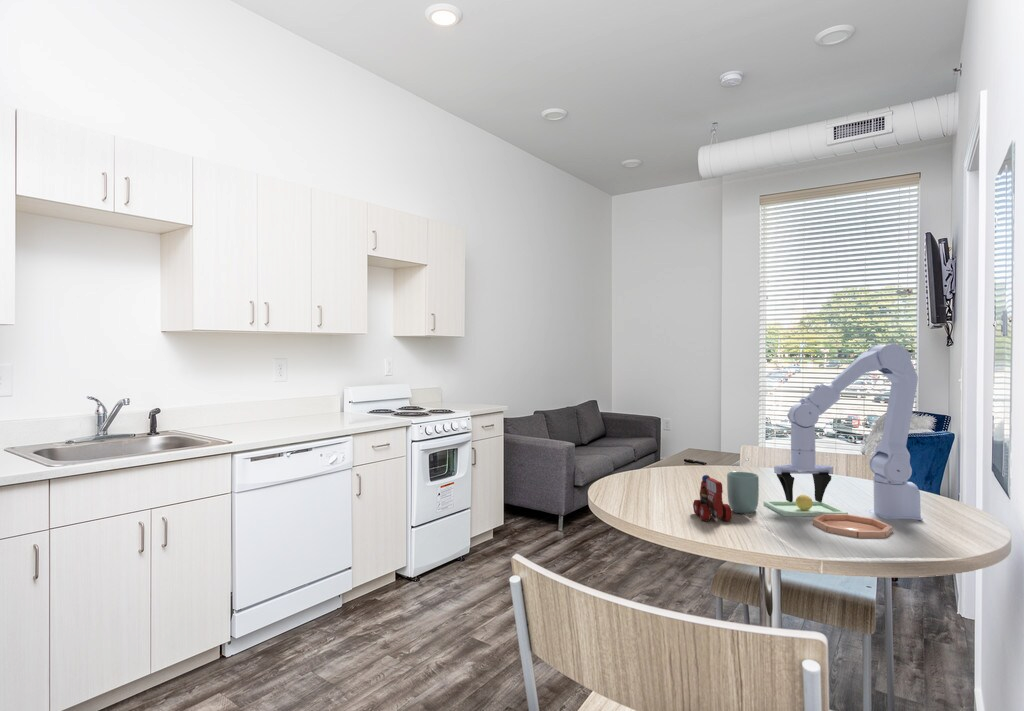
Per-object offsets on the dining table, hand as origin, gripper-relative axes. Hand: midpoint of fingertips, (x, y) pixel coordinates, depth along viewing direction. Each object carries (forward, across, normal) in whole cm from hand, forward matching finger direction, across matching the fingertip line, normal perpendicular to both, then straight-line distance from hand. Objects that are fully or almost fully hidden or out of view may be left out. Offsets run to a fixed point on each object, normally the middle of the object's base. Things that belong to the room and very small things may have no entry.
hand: (803, 501), depth 146 cm
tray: (+3, 0, 0) cm, 3 cm away
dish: (+3, -3, +16) cm, 17 cm away
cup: (+3, +16, 0) cm, 16 cm away
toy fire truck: (+3, +26, +5) cm, 27 cm away
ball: (+2, 0, 0) cm, 2 cm away
